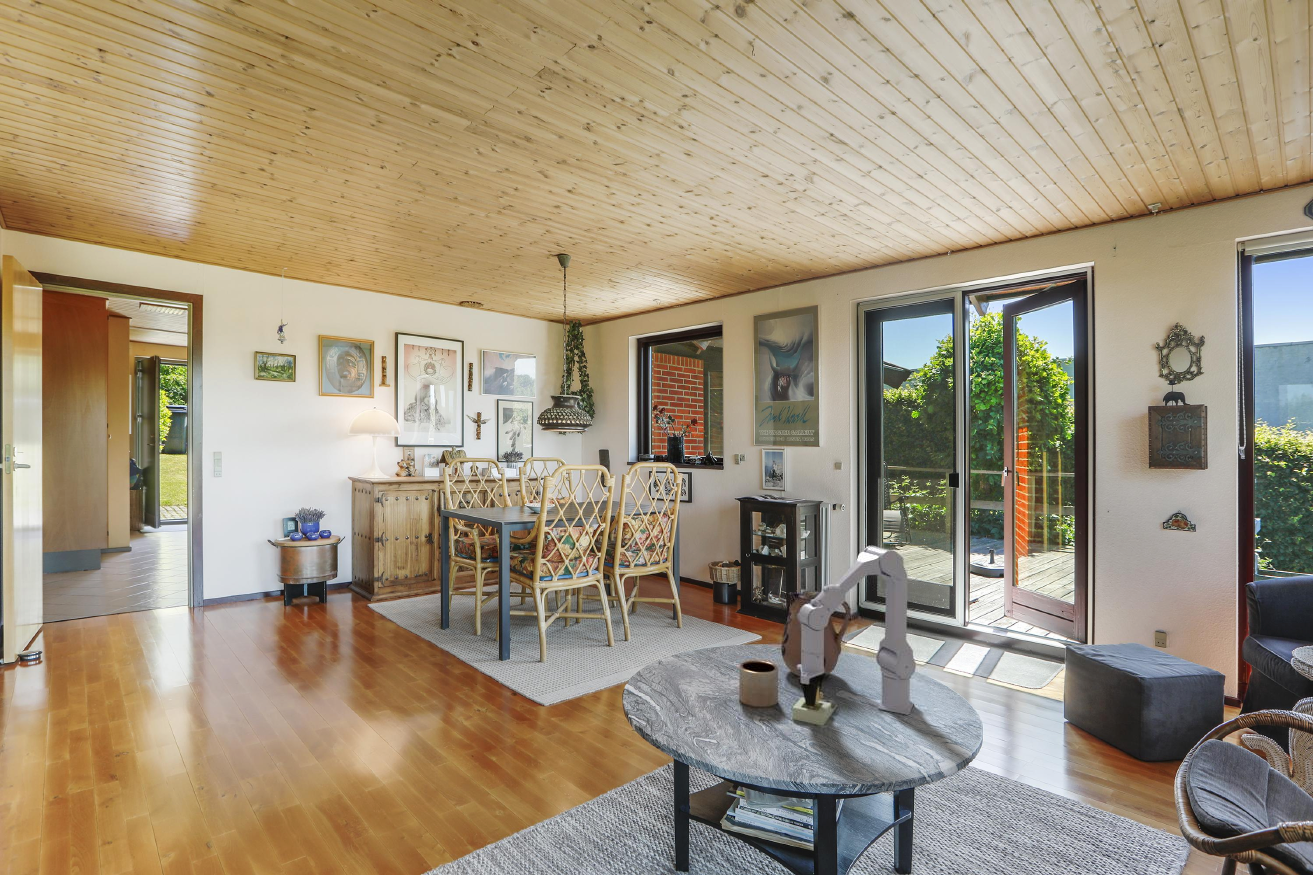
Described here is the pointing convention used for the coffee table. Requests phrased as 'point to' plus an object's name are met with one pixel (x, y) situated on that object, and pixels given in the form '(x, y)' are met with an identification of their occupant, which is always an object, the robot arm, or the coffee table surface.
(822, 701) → the slot jig
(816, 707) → the brass pin
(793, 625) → the ceramic pitcher
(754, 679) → the planter
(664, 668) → the coffee table surface
